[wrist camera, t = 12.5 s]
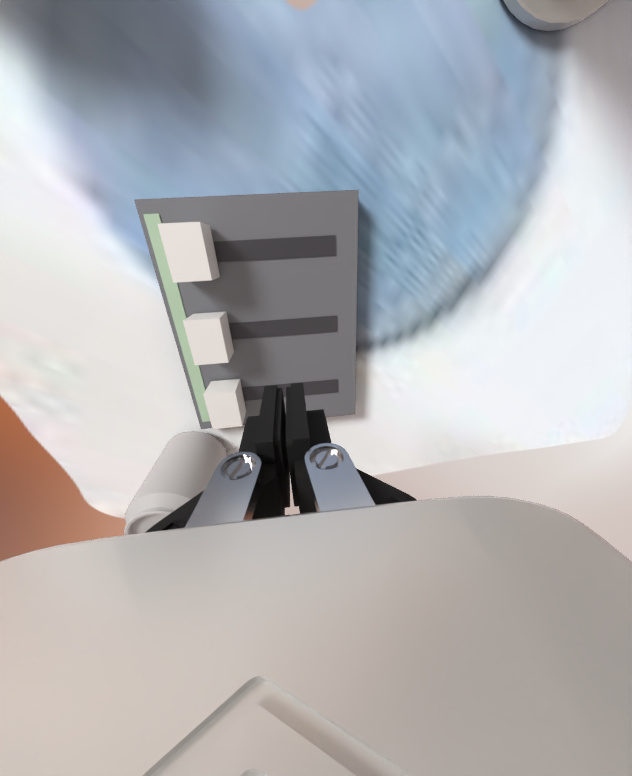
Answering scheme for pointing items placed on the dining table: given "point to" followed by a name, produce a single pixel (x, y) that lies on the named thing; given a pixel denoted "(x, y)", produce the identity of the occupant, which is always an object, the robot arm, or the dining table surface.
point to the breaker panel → (262, 294)
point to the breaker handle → (209, 338)
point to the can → (174, 479)
